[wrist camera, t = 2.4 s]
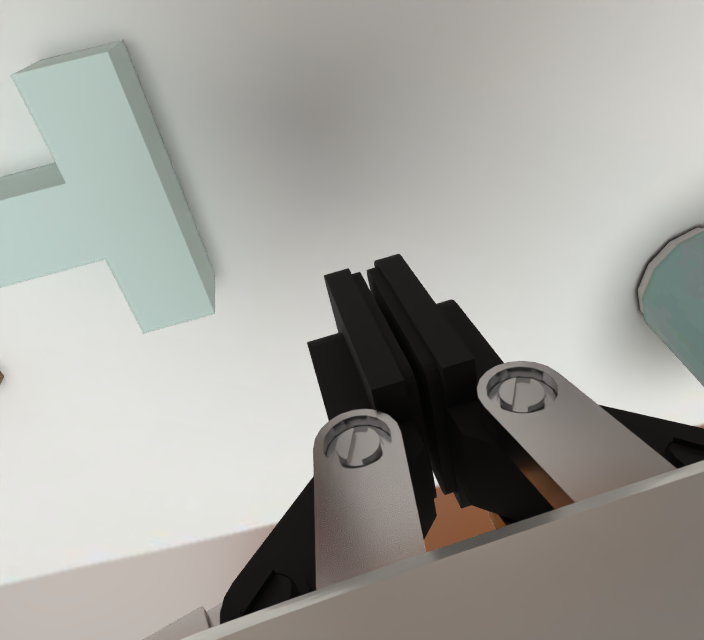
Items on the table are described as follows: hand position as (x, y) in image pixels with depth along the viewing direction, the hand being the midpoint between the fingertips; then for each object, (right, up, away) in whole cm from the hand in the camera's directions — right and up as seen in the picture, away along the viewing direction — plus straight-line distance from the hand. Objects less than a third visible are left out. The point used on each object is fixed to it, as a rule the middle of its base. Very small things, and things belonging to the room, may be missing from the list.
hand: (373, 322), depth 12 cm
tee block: (-13, +5, +10) cm, 17 cm away
